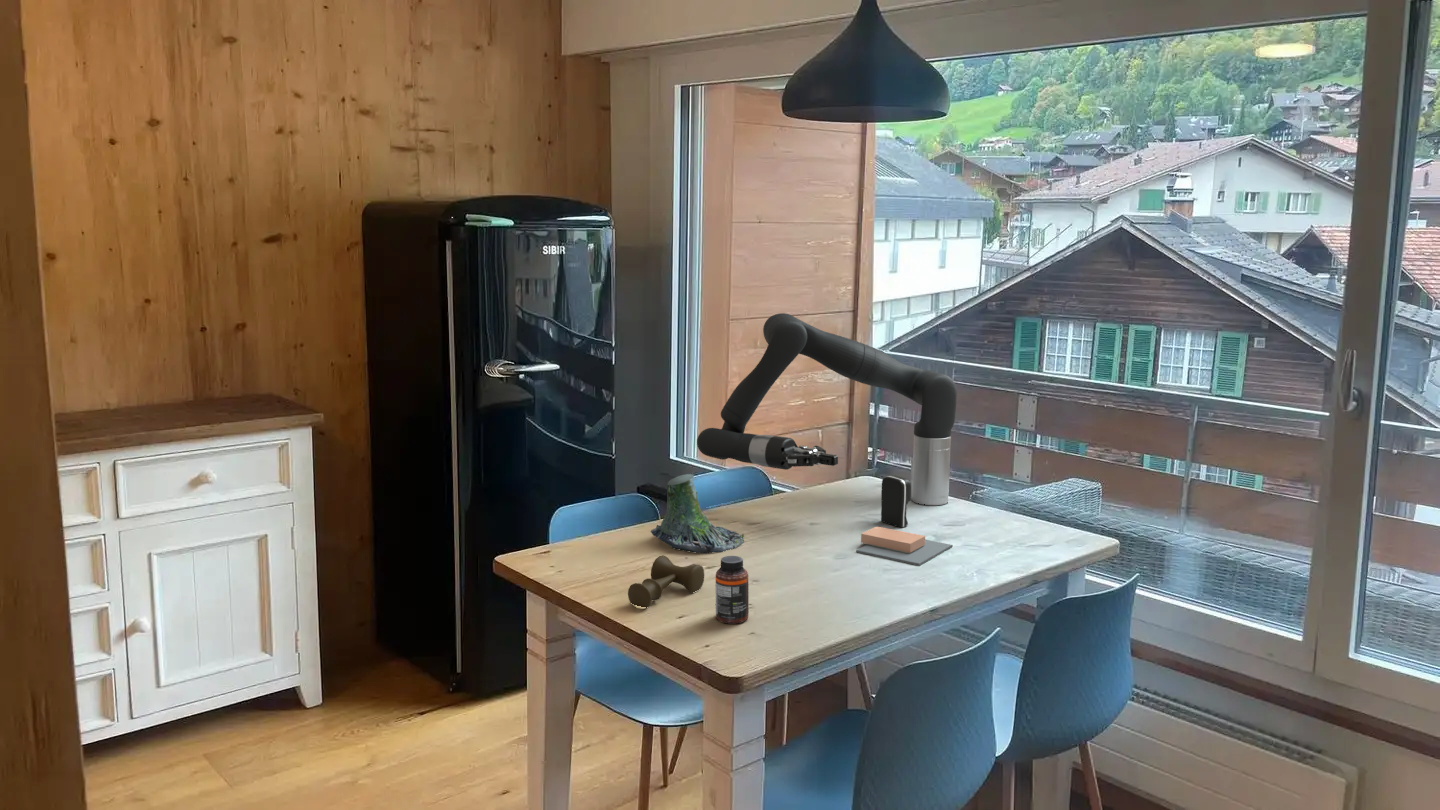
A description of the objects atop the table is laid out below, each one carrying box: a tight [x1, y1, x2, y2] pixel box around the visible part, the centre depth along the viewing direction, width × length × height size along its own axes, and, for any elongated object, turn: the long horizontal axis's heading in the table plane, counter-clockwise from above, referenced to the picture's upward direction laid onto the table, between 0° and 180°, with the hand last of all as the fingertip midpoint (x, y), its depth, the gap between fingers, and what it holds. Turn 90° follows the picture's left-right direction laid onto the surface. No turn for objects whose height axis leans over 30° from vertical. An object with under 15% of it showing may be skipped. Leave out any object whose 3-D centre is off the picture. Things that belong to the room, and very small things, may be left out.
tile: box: [860, 526, 926, 553], centre depth 232 cm, size 2×7×12 cm
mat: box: [856, 539, 953, 567], centre depth 230 cm, size 15×16×1 cm
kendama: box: [627, 554, 705, 609], centre depth 203 cm, size 6×10×20 cm
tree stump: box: [649, 473, 745, 554], centre depth 234 cm, size 18×20×18 cm
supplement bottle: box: [714, 555, 750, 625], centre depth 189 cm, size 6×6×11 cm
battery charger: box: [880, 475, 912, 528], centre depth 249 cm, size 7×4×11 cm, turn 38°
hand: (836, 460), depth 238 cm, fingers closed
